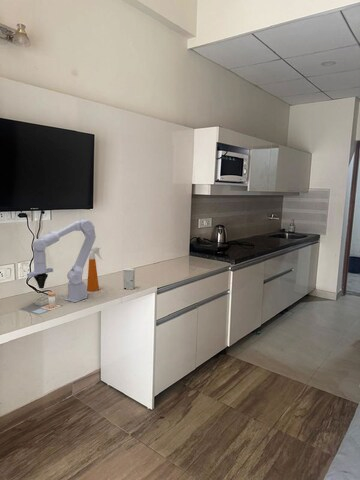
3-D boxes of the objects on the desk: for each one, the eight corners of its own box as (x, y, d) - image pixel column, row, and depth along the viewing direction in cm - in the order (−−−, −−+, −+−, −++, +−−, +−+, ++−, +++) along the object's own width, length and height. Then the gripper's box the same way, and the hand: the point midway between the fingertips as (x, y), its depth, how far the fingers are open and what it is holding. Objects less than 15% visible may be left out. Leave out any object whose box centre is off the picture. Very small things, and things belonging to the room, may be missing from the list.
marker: (52, 305, 177) (52, 291, 176) (56, 306, 175) (56, 292, 174) (46, 307, 174) (46, 292, 173) (51, 308, 172) (51, 293, 171)
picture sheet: (43, 302, 184) (43, 301, 184) (63, 307, 177) (63, 305, 177) (18, 311, 171) (18, 309, 171) (39, 316, 164) (39, 314, 164)
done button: (42, 300, 181) (42, 297, 181) (46, 301, 180) (46, 298, 180) (37, 302, 179) (37, 299, 178) (41, 303, 177) (41, 300, 177)
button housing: (42, 301, 183) (42, 298, 182) (48, 303, 180) (48, 299, 180) (35, 304, 179) (35, 300, 178) (41, 305, 176) (41, 302, 176)
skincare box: (123, 289, 207) (122, 269, 205) (125, 287, 212) (125, 267, 210) (133, 289, 206) (132, 269, 204) (135, 287, 211) (135, 268, 209)
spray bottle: (100, 292, 200) (99, 247, 196) (84, 290, 203) (83, 246, 200) (106, 289, 206) (105, 246, 203) (91, 287, 210) (90, 245, 206)
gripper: (46, 259, 185) (47, 283, 186) (22, 264, 172) (24, 290, 174) (55, 260, 181) (56, 285, 183) (31, 265, 169) (33, 292, 171)
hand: (41, 288), depth 178 cm, fingers closed
